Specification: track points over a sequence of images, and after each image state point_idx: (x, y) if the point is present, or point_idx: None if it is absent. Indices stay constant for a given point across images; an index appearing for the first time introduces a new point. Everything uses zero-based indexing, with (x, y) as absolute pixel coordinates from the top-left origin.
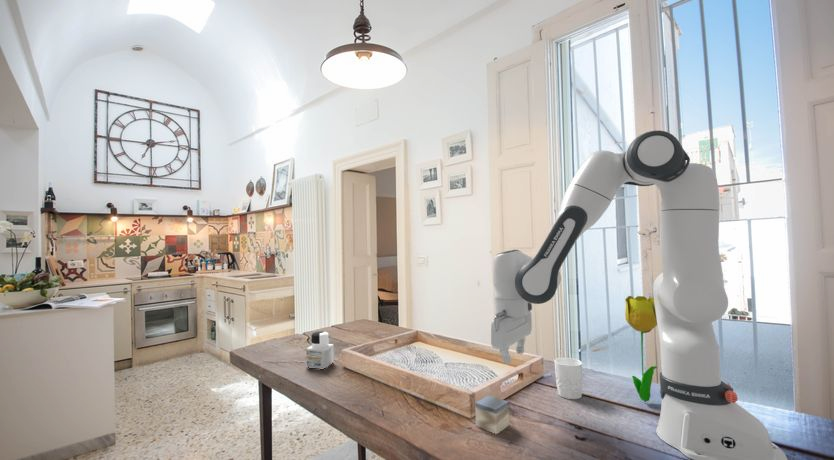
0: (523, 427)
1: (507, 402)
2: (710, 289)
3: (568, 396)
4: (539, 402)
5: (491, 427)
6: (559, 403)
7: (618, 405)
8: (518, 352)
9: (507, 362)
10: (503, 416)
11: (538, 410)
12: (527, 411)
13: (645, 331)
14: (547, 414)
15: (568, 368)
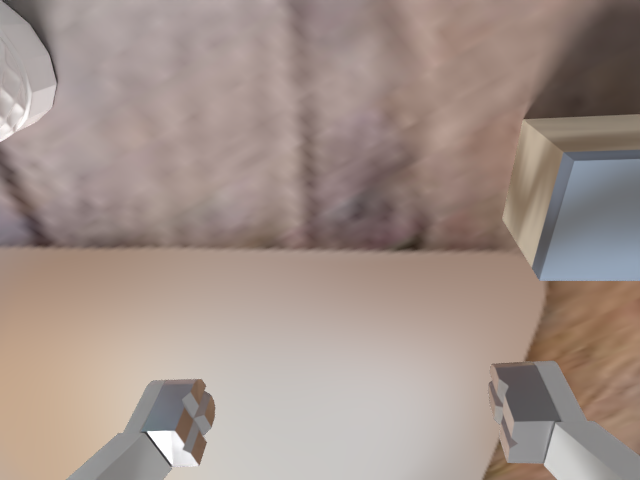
0: (507, 51)
1: (584, 160)
2: None
3: (30, 38)
4: (203, 134)
5: None
6: (126, 49)
7: None
8: (207, 405)
9: (554, 369)
10: (607, 135)
11: (283, 92)
12: (332, 128)
13: None
14: (289, 31)
15: None
